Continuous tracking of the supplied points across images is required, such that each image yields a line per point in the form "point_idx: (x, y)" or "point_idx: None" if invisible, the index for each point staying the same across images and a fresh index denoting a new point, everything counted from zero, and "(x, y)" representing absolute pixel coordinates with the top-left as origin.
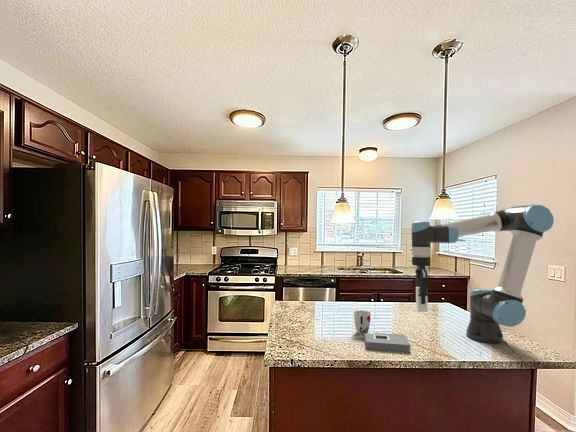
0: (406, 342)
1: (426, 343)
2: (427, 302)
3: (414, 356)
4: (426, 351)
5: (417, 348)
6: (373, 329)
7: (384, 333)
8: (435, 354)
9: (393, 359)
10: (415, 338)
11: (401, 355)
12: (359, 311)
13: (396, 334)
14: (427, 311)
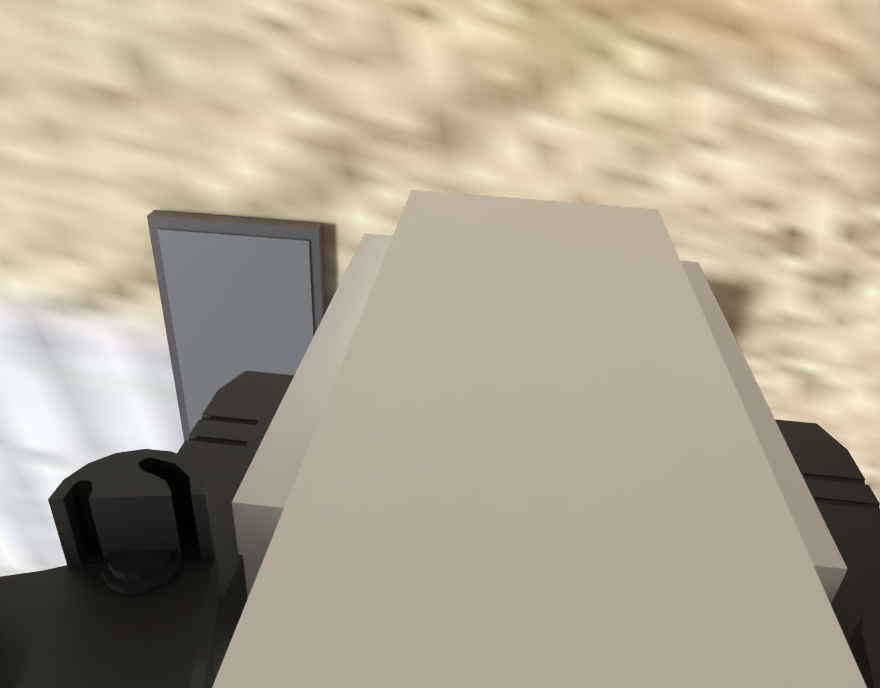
0: None
1: (358, 5)
2: (708, 336)
3: (800, 262)
4: (650, 90)
5: (557, 169)
6: (50, 461)
7: (179, 407)
8: (751, 3)
9: (859, 453)
10: (199, 100)
11: (766, 372)
12: None
13: (176, 303)
14: (660, 221)
